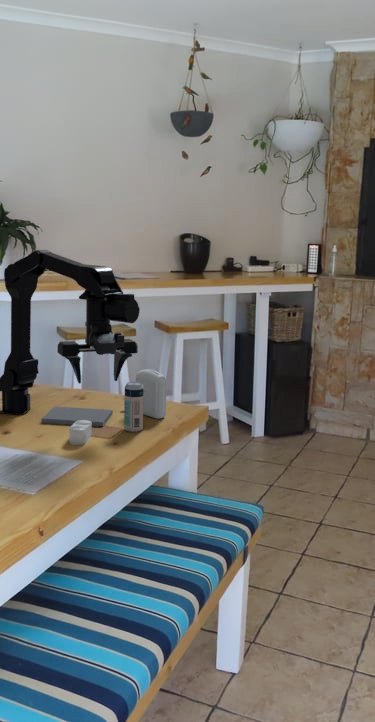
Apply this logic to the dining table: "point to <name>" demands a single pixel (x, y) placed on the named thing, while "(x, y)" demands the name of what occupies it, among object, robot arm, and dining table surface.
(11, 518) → the dining table surface
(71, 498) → the dining table surface
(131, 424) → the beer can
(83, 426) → the grey rounded piece
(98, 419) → the slate board
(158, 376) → the photo printer
